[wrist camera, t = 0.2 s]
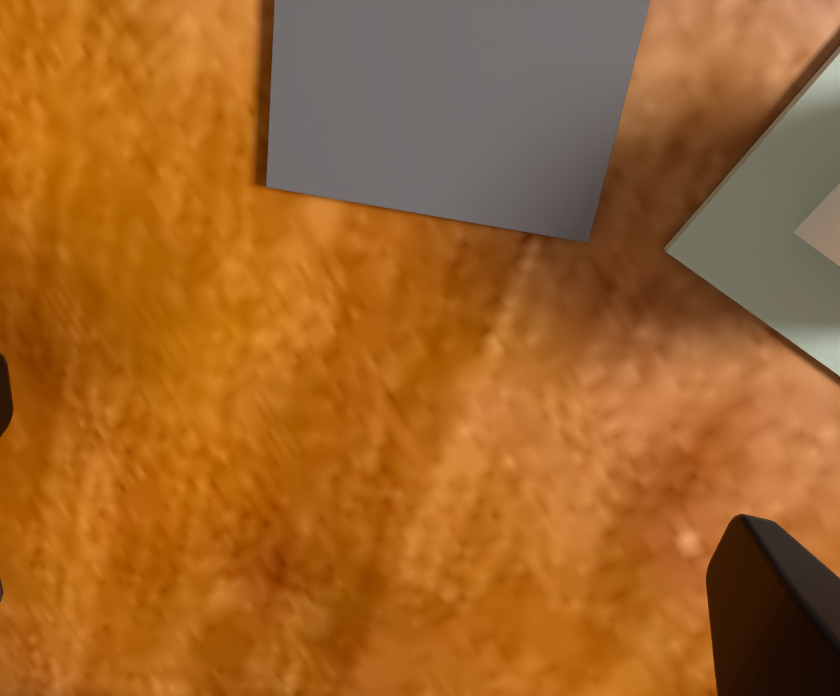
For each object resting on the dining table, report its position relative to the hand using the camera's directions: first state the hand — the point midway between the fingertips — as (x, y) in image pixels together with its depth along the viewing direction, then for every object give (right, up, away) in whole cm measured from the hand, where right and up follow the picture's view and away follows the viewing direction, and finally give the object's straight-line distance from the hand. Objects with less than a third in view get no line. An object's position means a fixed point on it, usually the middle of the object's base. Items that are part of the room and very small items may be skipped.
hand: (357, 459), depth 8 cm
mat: (+2, +11, +11) cm, 15 cm away
